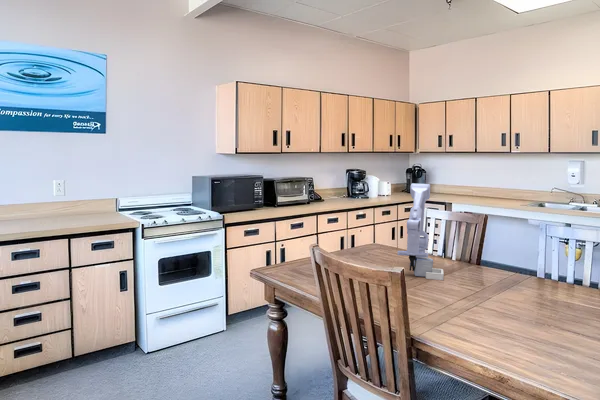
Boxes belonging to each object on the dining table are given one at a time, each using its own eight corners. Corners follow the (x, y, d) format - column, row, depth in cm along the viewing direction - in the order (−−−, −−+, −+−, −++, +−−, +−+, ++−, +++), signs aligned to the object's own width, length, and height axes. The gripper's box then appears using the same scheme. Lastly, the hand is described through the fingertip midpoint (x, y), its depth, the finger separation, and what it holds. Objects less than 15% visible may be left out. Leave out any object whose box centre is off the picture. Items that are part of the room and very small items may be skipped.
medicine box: (429, 274, 208) (431, 257, 207) (431, 277, 204) (433, 260, 203) (413, 273, 208) (415, 256, 207) (415, 276, 204) (417, 258, 203)
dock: (425, 273, 210) (426, 267, 210) (442, 275, 208) (443, 269, 207) (425, 278, 201) (426, 272, 201) (443, 280, 199) (443, 274, 199)
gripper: (397, 243, 204) (396, 271, 205) (428, 246, 200) (427, 274, 201) (398, 241, 211) (397, 267, 212) (428, 243, 206) (427, 270, 208)
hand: (411, 270), depth 207 cm, fingers closed, pressing on medicine box
